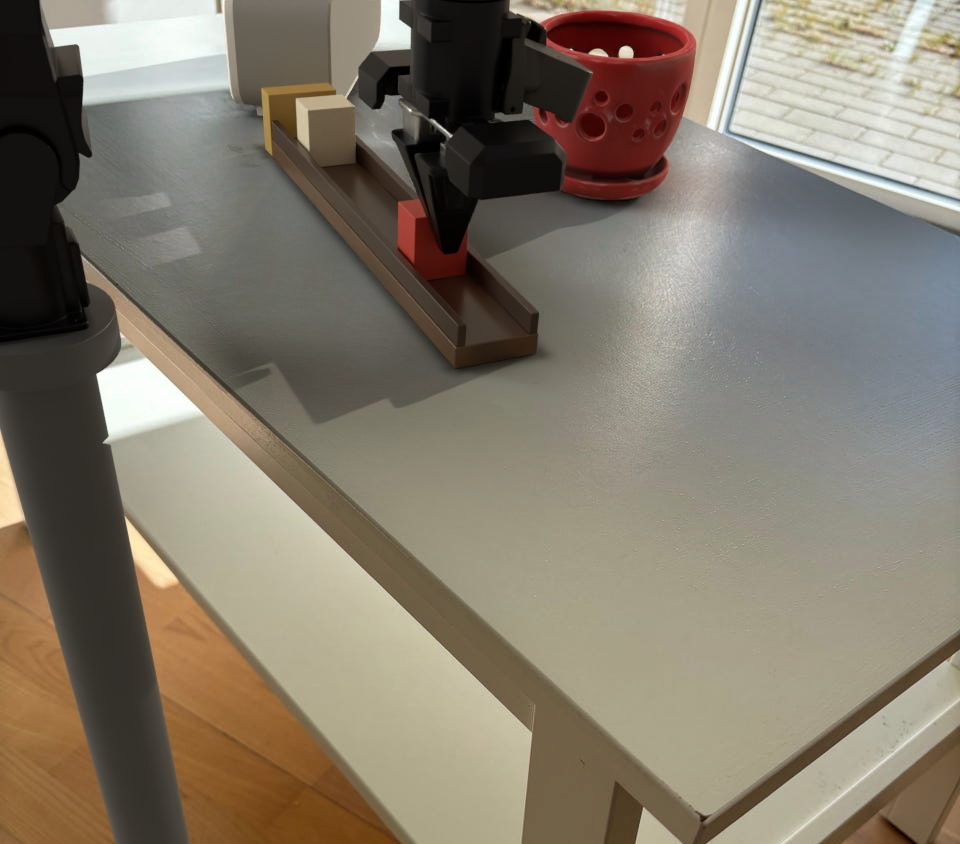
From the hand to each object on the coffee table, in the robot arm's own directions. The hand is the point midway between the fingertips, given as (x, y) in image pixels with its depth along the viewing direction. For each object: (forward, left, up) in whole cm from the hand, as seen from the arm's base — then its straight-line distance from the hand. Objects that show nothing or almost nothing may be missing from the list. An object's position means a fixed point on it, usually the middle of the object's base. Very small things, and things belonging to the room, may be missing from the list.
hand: (448, 252), depth 73 cm
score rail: (0, +11, -4) cm, 12 cm away
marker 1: (0, +24, -3) cm, 25 cm away
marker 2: (0, +3, -2) cm, 4 cm away
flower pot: (+22, +17, -4) cm, 28 cm away
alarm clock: (+7, +48, -4) cm, 49 cm away
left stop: (0, +31, -4) cm, 31 cm away
